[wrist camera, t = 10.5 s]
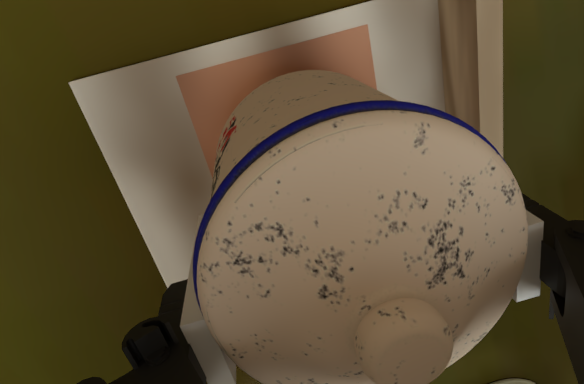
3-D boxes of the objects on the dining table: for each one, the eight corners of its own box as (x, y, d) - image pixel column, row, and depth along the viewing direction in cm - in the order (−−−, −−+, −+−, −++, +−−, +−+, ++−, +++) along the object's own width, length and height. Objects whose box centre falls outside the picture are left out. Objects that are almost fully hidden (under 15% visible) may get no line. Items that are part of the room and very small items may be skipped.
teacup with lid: (180, 93, 16) (84, 233, 6) (389, 38, 16) (672, 74, 6) (256, 308, 21) (280, 592, 11) (414, 264, 22) (589, 498, 11)
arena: (190, 327, 27) (184, 376, 23) (72, 80, 19) (36, 94, 16) (467, 247, 27) (503, 282, 24) (453, -22, 20) (502, -31, 16)
